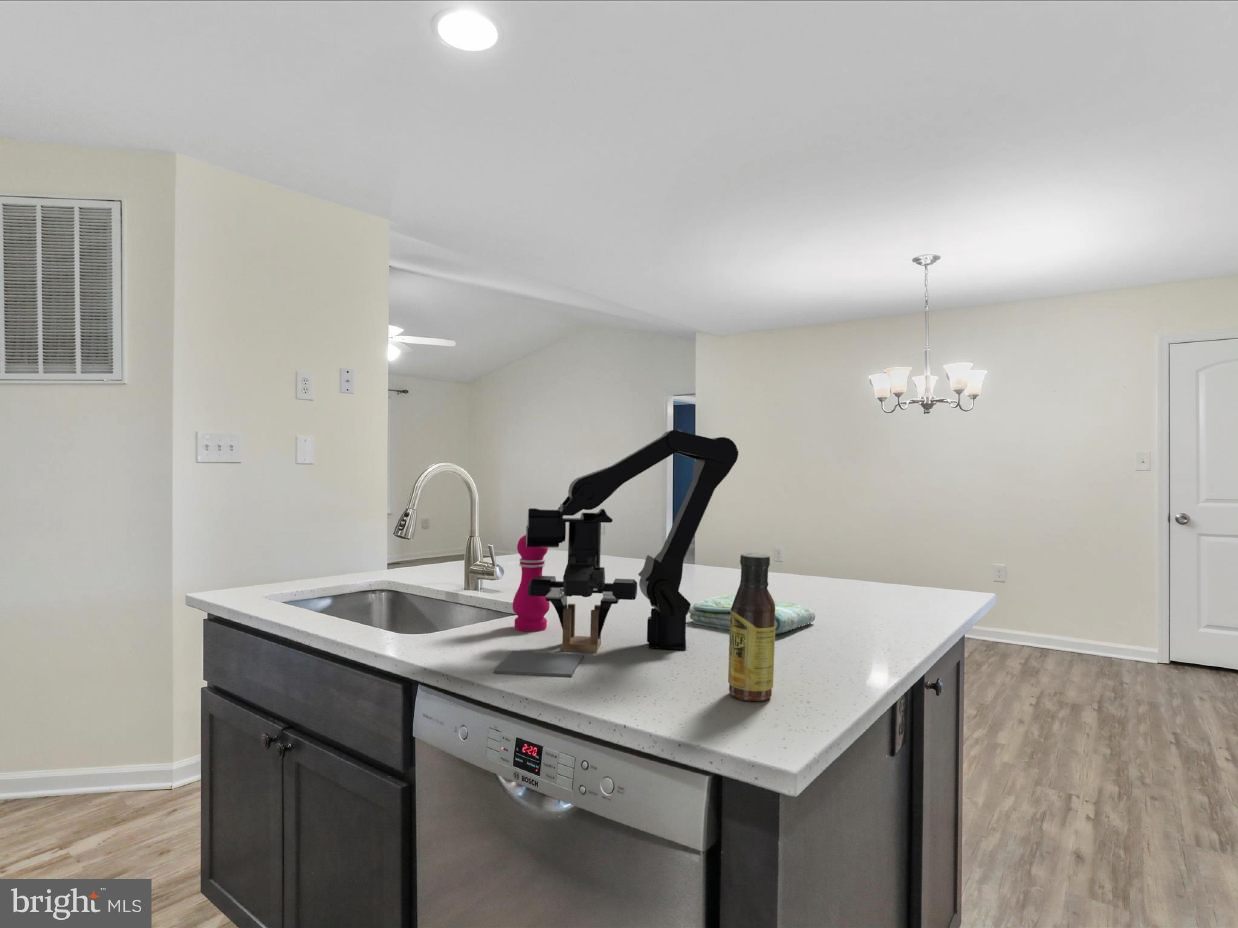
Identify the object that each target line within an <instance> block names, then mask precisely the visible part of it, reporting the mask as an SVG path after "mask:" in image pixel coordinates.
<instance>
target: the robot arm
mask: <svg viewBox="0 0 1238 928" xmlns="http://www.w3.org/2000/svg"><path fill="white" fill-rule="evenodd" d="M673 454H678V455H681V456H684V457H686V458H690V459H694V464H693V473H692V480H691V483H690V484H689V487H688V489H687V492H686V494H685V496H684V498H683V501H682V503H681V505H680V508H679V510H678V512H677V515H676V517H675V519H674V520H673V524H672V526H671V528H670V530H669V532H668V535H667V537H666V539H665V541H664V543H663V546H662V548H661V550H660V551H658V553H657V554H656V555H655V557H653V556H651V555H649V554H648V555H646V558H645V561H644V565H643V567H642V569H641V571H640V572H639V573H638V574H637V575H638V577H640V579H639V581H638V582H637V580H636V579H635V578H632V579H631V578H614V580H613V582H606V571H605V566H604V567H603V566H602V567H601V549H602V547H601V545H602V539H601V538H602V523H603V524H604V523H605V524H607V523H613V520H614V519H613V518H612V517H610V515H608V514H607V512H606V510H605V509H604V508H600V509H599V510H598V511H597V512H581V511H583V510H584V511H591V510H594V509H596V508H598V507H599V506H600V505H602V504H603V503H604V502H605V501H606V500H607V499H608V498H610V497H611V496H612V495H613V494H614V493H615V492H616V491H617V490H618V489H619V488H620V487H621V486H622V485H624V484H625V483H626V482H629V481H630V480H631V479H633V478H635V477H637V476H638V475H640V474H642V473H644V472H646V470H649V469H650V468H652V467H653V466H655V465H657V464H659V463H661V462H662V461H663V460H666V459H667V458H668V457H670V456H672V455H673ZM738 458H739V449H738V447H737V445H736V443H735V442H734V441H733V440H732V439H730V438H728V437H725V436H721V437H720V436H719V437H712V438H711V437H707V436H701V435H697V434H694V433H693V434H692V433H688V432H686V431H682V430H680V429H671V430H667V431H666V432H664V433H663V434H662V435H661V436H660V437H657V438H656V439H654V440H653V441H651V442H649V443H648V444H645V446H643V447H641V448H639V449H637V450H636V451H634V452H632V453H631V454H628V455H627V456H625V457H624V458H621V460H619V461H617V462H615V463H614V464H613V463H612V465H610V466H607V467H605V468H601V469H599V470H596V471H592V472H590V473H588V474H584V475H582V476H579V477H576V478H575V479H574V480H573V481H571V483H570V484H569V487H568V492H567V493H568V494H567V497H566V498H565V499H564V501H562V503H560V505H559V507H558V508H557V509H540V508H535V507H533V508H531V507H530V508H528V509H527V525H526V527H525V535H526V547H548V549H549V548H551V549H553V548H559V547H560V544H563V543H565V542H566V534H567V525H566V524H567V523H568V540H567V541H568V546H567V547H568V548H567V565H565V566H566V567H565V570H564V574H563V577H562V580H557V577H556V576H555V575H542V576H536V577H534V578H533V579H532V580H531V581H530V582H529V584H528V595H529V596H546V595H547V597H546V598H545V600H546V601H549V603H551V604H552V606H553V608H554V609H555V610H556V613H557V616H558V619H559V622H560V623H559V624H560V626H561V629H562V630H563V610H564V609H568V597H569V598H570V597H573V596H575V597H577V596H578V597H583V598H591V596H592V595H593V594H602V598H601V599H600V603H599V605H600V613H599V620H598V638H599V637H600V635H601V636H602V631H603V628H604V625H605V623H606V620H607V616H608V614H609V612H610V610H611V607H612V605H617V604H618V603H619V601H620V600H624V601H625V600H627V601H628V600H630V601H633V600H635V601H636V599H637V596H638V586H639V590H640V591H641V594H642V595H643V596H644V597H645V598H646V599H647V600H649V603H650V606H651V607H652V608H651V610H650V616H648V617H647V623H646V625H647V629H646V630H647V631H646V642H647V644H648V643H649V645H648V648H650V649H663V650H665V649H666V650H668V649H669V650H687V639H686V637H687V636H686V635H687V634H686V633H687V628H686V627H687V615H688V614H689V612H688V611H689V609H690V607H691V606H692V605H691V602H689V600H688V599H687V598H686V597H685V596H684V595H683V594H682V593H681V592H680V591H679V590H680V587H681V582H682V579H683V578H682V577H683V570H684V569H683V568H684V560H685V558H686V555H687V553H688V551H689V549H690V547H691V544H692V542H693V539H694V537H695V535H696V533H697V530H698V528H699V526H700V523H701V521H702V519H703V516H704V514H705V512H706V510H707V508H708V505H709V503H710V501H711V500H712V496H713V494H714V492H715V490H716V488H717V487H718V486H719V485H720V483H721V482H722V481H723V480H724V479H725V478H726V477H727V476H728V475H729V473H730V472H731V470H732V469H733V467H734V465H735V464H736V463H737V460H738ZM580 512H581V513H580ZM578 513H580V517H573V516H575V515H577V514H578ZM564 516H565V517H564ZM567 516H568V517H567ZM570 516H571V517H570ZM638 583H639V584H638Z"/></svg>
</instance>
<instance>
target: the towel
mask: <svg viewBox="0 0 1238 928" xmlns="http://www.w3.org/2000/svg"><path fill="white" fill-rule="evenodd" d="M735 596H736V595H732V594H727V595H726V594H723V595H718V596H712V597H708V598H706V599H703V600H702V601H700V602H696V603H694V604H693V605H691V606H690V609H689V611H688V614H689V619H690V620H692V622H693V624H694V623H695V624H694V625H698V624H701V625H700V626H703V625H704V626H705V627H709V626H711V627H710V628H715V627H717V628H716V629H721V628H722V629H724V630H727V629H730V614H731V607H732V605H733V602H734V599H735ZM773 601H774V603H775V635H779V634H782V633H787V632H789V630H790V631H792V629H793V630H795V629H797V627H798V628H800V627H799V626H802V625H804V624H808V623H811V622H812V623H813V622H814V621H815V620H816V613H815V612H814V611H813V610H811V609H810V608H809V607H807V606H804V605H802V604H798V603H794V602H786V601H777V600H776V601H775V600H773ZM812 623H811V624H812ZM704 626H703V627H704ZM802 627H803V626H802Z"/></svg>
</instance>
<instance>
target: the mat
mask: <svg viewBox="0 0 1238 928" xmlns="http://www.w3.org/2000/svg"><path fill="white" fill-rule="evenodd" d="M583 657H584V654H583V653H575V652H572V653H571V652H570V653H569V652H557V651H556V652H551V651H534V650H532V651H529V650H512V651H510V653H509V654H508V655H506V657H504V658H503V660H502V661H501V662H500V663H499V664H498V665H497V666H496V667H495V668H494V669H493V674H506V675H507V674H508V675H509V674H510V675H524V676H525V675H527V676H544V677H545V676H547V677H565V678H572V677H573V676H574V673H575V671H576V670H577V668H578V666H579V664H580V662H581V661H582V659H583Z"/></svg>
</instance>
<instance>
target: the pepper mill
mask: <svg viewBox="0 0 1238 928" xmlns="http://www.w3.org/2000/svg"><path fill="white" fill-rule="evenodd" d="M516 550H517V553H518V555H520V558H519V564H518V565H519V567H520V568H521V579H520V583H519V586H518V588H517V590H516V593H515V595H514V598H513V601H512V610H513V612H514V613H515V615H516V618H514V629H515V630H517V631H520V630H521V632H540V630H541V631H543V630H546V629H547V627H548V626H547V625H548V619H547V618H546V617H545V615H546V614H547V613H548V612H549V610H550V601H546V600H545V598H546V597H547V595H546V596H529V595H528V584H529V582H530V581H531V580H532V579H533V578H534V577H536V576H543V568H544V567H545V566H546V564H545V561H546V559H545V558H544V557H545V555H546V554H547V553H548V550H549V548H548V547H526V534H525V535H523V536H520V539H518V541H517V544H516Z"/></svg>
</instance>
